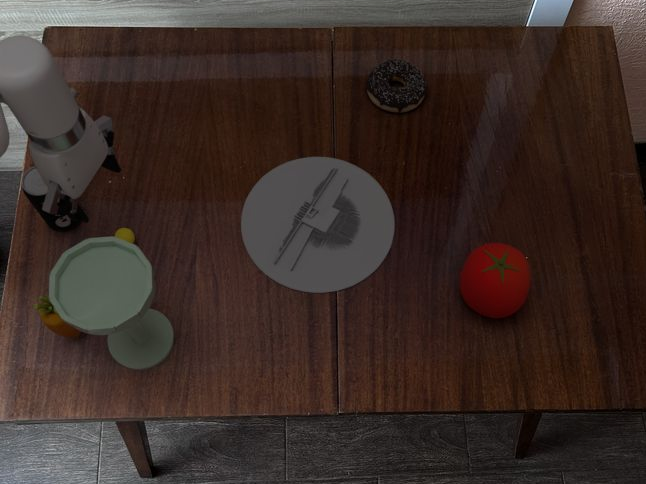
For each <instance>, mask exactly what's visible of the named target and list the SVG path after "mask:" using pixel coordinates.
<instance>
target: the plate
mask: <svg viewBox="0 0 646 484" xmlns="http://www.w3.org/2000/svg"><path fill="white" fill-rule="evenodd" d="M395 223H396V222H395V214H394V210H393V207H392V203H391V201H390V199H389V197H388V194H387V193H386V191H385V190H384V189H383V187H382V186H381V184H380V183H379V182H378V181H377V180H376V179H375V178H374V177H373V176H372V175H370V173H368V172H367V171H365V170H364V169H362V168H360V167H359V166H357V165H355V164H353V163H352V162H351V163H350V162H349V161H345V160H342V159H339V158H334V157H329V156H328V157H327V156H308V157H301V158H297V159H293V160H290V161H289V160H288V161H286V162H284V163H282V164H279V165H278V166H276V167H274V168H272V169H271V170H270V171H268V172H267V173H265V174H264V175H263V176H262V177H261V178H260V179H259V180H258V181H257V182H256V183H255V184H254V186H253V187H252V189H251V190H250V192H249V193H248V195H247V197H246V199H245V201H244V204H243V208H242V211H241V217H240V231H241V237H242V241H243V244H244V248H245V250H246V252H247V254H248V256H249V257H250V259H251V260H252V262H253V263H254V265H255V266H256V268H257V269H259V270H260V271H261V272H262V273H263V275H265V276H266V277H268V278H269V279H270V280H272V281H274V282H275V283H277V284H279V285H280V286H282V287H285V288H287V289H290V290H294V291H297V292H301V293H306V294H307V293H308V294H329V293H335V292H339V291H342V290H346V289H349V288H351V287H354V286H356V285H358V284H360V283H361V282H364V281H365V280H366V279H367V278H369V277H370V276H371V275H372V274H373V273H375V272H376V271H377V270H378V269H379V267H380V266H381V265H382V264H383V262H384V260H385V259H386V258H387V256H388V254H389V252H390V250H391V248H392V245H393V242H394V241H393V240H394V235H395V225H396V224H395Z"/></svg>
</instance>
